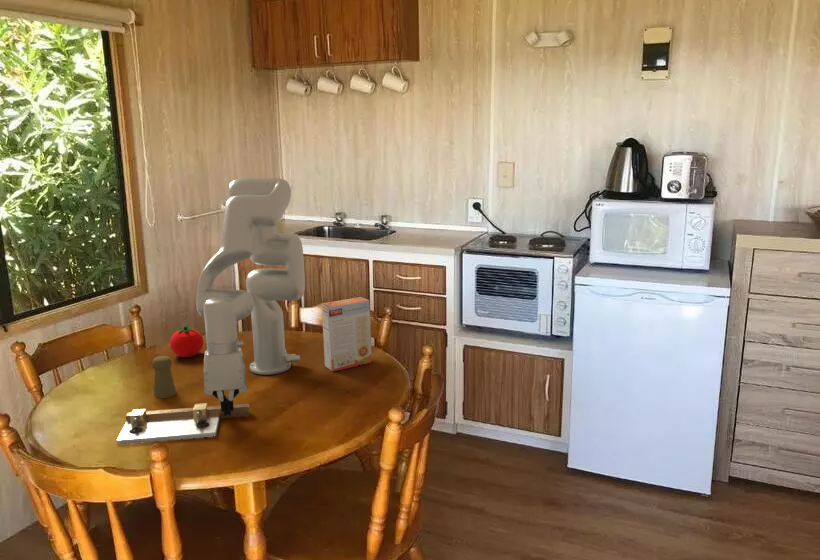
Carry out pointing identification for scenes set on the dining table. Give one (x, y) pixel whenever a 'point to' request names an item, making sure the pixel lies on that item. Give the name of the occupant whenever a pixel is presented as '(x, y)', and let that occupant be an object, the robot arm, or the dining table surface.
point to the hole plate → (173, 424)
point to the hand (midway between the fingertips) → (227, 413)
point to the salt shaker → (163, 377)
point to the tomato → (186, 342)
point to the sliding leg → (200, 412)
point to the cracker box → (346, 333)
